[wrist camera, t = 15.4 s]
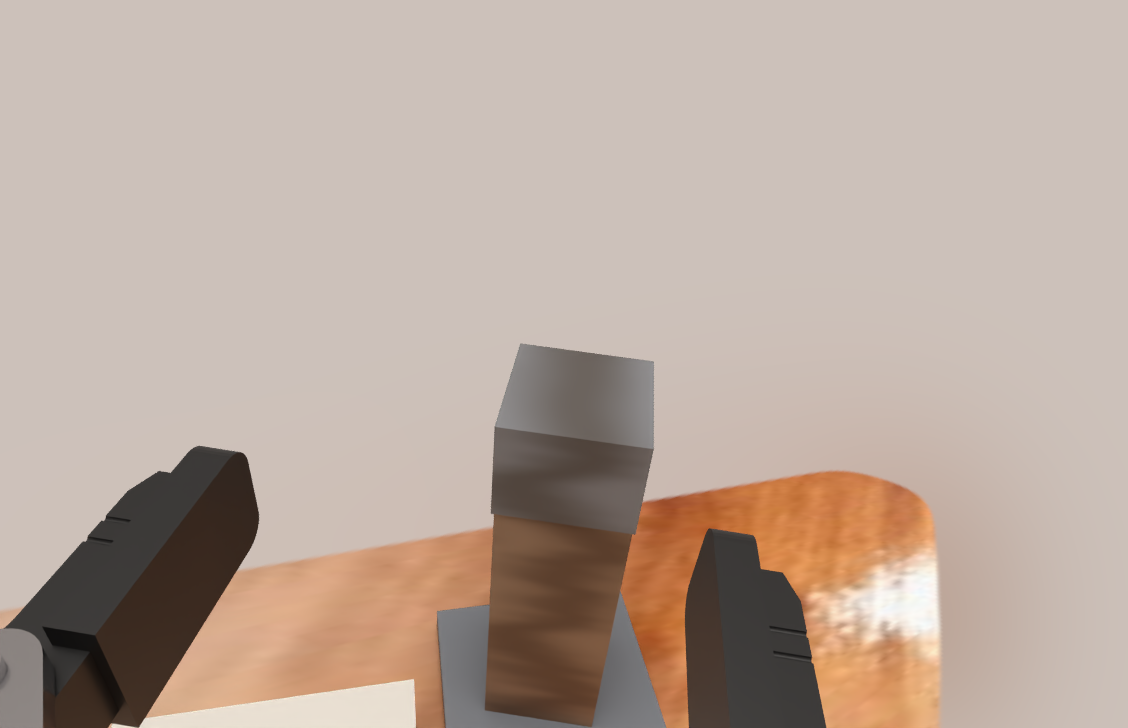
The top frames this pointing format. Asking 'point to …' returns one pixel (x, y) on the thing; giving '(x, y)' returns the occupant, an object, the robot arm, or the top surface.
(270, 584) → the top surface
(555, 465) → the capped block
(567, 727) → the mat
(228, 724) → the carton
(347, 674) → the top surface
